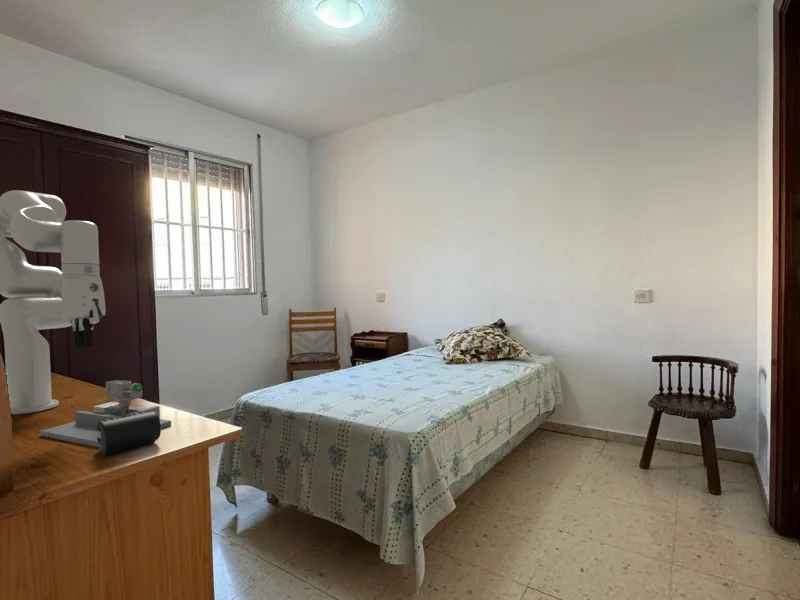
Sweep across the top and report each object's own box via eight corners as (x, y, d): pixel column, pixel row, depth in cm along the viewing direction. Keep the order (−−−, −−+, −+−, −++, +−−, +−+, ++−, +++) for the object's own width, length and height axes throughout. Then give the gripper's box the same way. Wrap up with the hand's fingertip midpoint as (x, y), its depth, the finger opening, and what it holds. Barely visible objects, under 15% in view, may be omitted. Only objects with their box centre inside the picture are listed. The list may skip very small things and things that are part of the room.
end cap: (106, 460, 85) (105, 425, 84) (95, 452, 89) (94, 418, 89) (161, 445, 92) (160, 413, 92) (148, 438, 97) (147, 408, 97)
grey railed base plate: (40, 436, 100) (39, 413, 99) (111, 416, 114) (110, 396, 114) (103, 448, 91) (102, 423, 91) (171, 425, 106) (170, 404, 105)
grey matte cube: (94, 423, 104) (93, 406, 104) (112, 417, 108) (112, 401, 108) (105, 424, 103) (104, 407, 102) (123, 419, 107) (122, 403, 106)
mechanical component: (134, 428, 100) (133, 384, 99) (104, 424, 104) (102, 382, 103) (146, 424, 103) (145, 382, 102) (116, 420, 106) (115, 379, 106)
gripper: (116, 271, 108) (118, 345, 109) (78, 273, 114) (80, 343, 115) (84, 270, 101) (87, 349, 102) (45, 272, 107) (48, 347, 108)
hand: (83, 346), depth 108 cm, fingers closed
